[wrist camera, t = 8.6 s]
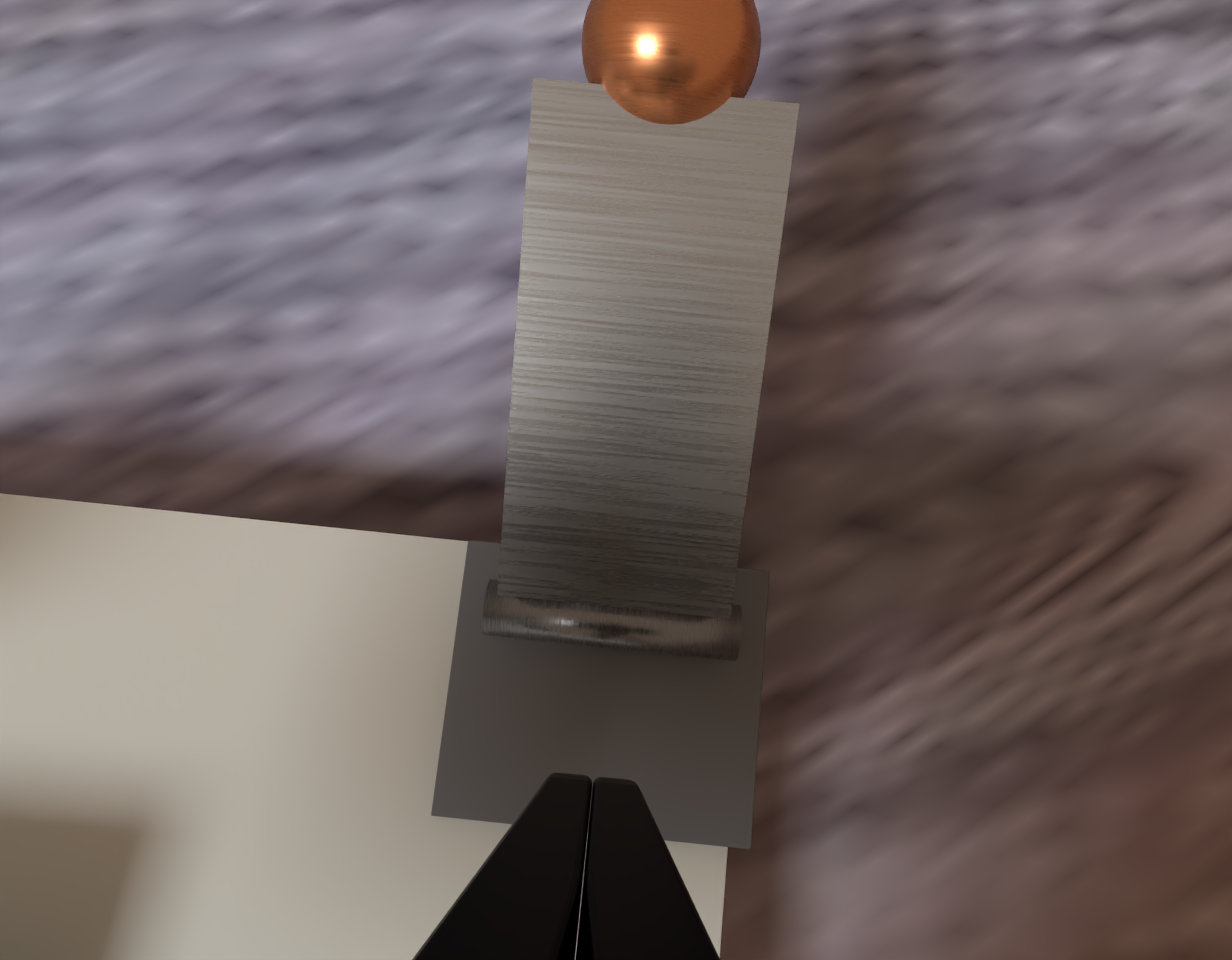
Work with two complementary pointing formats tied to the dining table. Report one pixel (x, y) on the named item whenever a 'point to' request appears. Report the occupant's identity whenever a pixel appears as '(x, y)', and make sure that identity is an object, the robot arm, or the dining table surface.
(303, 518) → the dining table surface
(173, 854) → the panel
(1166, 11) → the dining table surface
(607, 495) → the grey block with ball
